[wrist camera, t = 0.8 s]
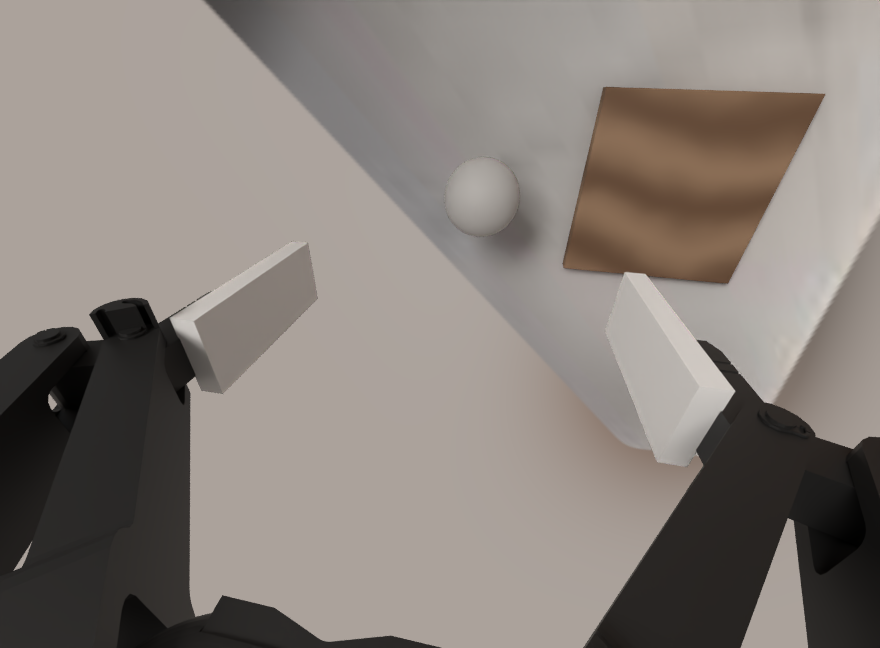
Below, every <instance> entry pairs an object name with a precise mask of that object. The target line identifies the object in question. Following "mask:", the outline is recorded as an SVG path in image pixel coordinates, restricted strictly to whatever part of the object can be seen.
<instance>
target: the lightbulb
mask: <svg viewBox="0 0 880 648" xmlns="http://www.w3.org/2000/svg"><path fill="white" fill-rule="evenodd" d="M519 202H520V190H519V185H518V181H517V179H516V177H515V175H514V173H513V172H512V171H511V169H510V168H509V167H508V166H507V165H505V164H504V163H503V162H501V161H499V160H496V159H494V158H489V157H478V158H473V159H470V160H468V161H466V162H464V163H463V164H461V165H460V166H459V167H458V168H457V169H456V170H455V171H454V172H453V173H452V175H451V176H450V178H449V180H448V182H447V185H446V188H445V193H444V203H445V208H446V212H447V214H448V217H449V219H450V220H451V222H452V223H453V224H454V225H455V226H456V227H457V228H458V229H459V230H461V231H462V232H464V233H466V234H468V235H471V236H476V237H485V236H491V235H493V234H496V233H498V232H500V231H501V230H503V229H504V228H505V227H506V226H507V225H508V224H509V223H510V222H511V221H512V219H513V218H514V216H515V214H516V212H517V210H518V206H519Z"/></svg>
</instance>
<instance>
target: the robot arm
mask: <svg viewBox="0 0 880 648" xmlns="http://www.w3.org/2000/svg"><path fill="white" fill-rule="evenodd" d="M317 299H318V297H317V291H316V286H315V280H314V275H313V269H312V263H311V257H310V251H309V246H308V243H304V242H294V241H291V242H290V243H288V244H287V245H285V246H283V247H282V248H280V249H279V250H277V251H276V252H274V253H272V254H271V255H269V256H268V257H266V258H265V259H263V260H261V261H260V262H258V263H256V264H255V265H253V266H252V267H250V268H248V269H247V270H245V271H244V272H242V273H240V274H239V275H237V276H236V277H234V278H233V279H231V280H229V281H228V282H226V283H224V284H223V285H221V286H220V287H218V288H216V289H215V290H213V291H211V292H208V293H207V294H205V295H203V296H202V297H200V298H199V299H197V301H194V302H192V303H191V304H189V305H187V307H184V308H183V309H181V310H179V311H178V312H176V313H175V314H173V315H171V316H170V317H168V318H167V319H165V320H163V321H162V322H160V323H158V322H157V320H156V318H155V316H154V314H153V312H152V310H151V307H150V305H149V303H148V301H147V300H144V299H142V298H129V299H122V300H117V301H113V302H110V303H107V304H104V305H102V306H100V307H98V308H96V309H95V310H93V311H92V312H91V313H90V314H89V315H90V317H91V319H92V320H93V322H94V324H95V325H96V327H97V329H98V331H99V332H100V334H101V336H102V337H103V339H104V340H98V341H86V340H85V338H84V337H83V335H82V333H81V332H80V330H79V329H78V328H74V327H61V328H52V329H47V330H46V331H45V330H44V331H40V332H38V333H37V334H35V335H33V336H31V337H29V338H27V339H25V340H24V341H22V342H21V343H19V344H18V345H17V346H16V347H15V348H13V349H12V350H11V351H10V352H9V353H7V354H6V355H5V356H4V357H3V358H2V359H0V648H440V647H436V646H432V645H427V644H423V643H419V642H415V641H411V640H407V639H402V638H398V637H394V636H384V637H374V638H364V639H354V640H345V641H335V642H325V641H322V640H320V639H318V638H317V637H315V636H314V635H313V634H311V633H309V632H308V631H307V630H305V629H304V628H303V627H301V626H300V625H298V624H297V623H296V622H294V621H293V620H291V619H290V618H288V617H287V616H286V615H284V614H283V613H281V612H280V611H278V610H277V609H275V608H273V607H268V606H264V605H260V604H256V603H252V602H248V601H244V600H239V599H235V598H231V597H227V596H223V595H222V597H221V599H220V600H219V602H218V604H217V605H216V607H215V609H214V611H213V612H212V613H211V614H206V615H202V616H197V617H195V614H194V611H193V608H192V604H191V600H190V591H189V562H190V559H189V558H190V555H189V554H190V553H189V552H190V548H189V547H190V546H189V545H190V542H189V541H190V391H189V389H188V387H187V385H186V384H187V383H188V382H189V381H190V380H191V379H193V378H194V377H196V379H197V382H198V384H199V386H200V388H201V390H202V391H208V392H214V393H221V394H223V393H224V392H225V391H226V390H227V389H228V388H229V387H230V386H231V385H232V384H233V383H234V382H235V381H236V380H237V379H238V378H239V377H240V376H241V375H242V374H243V373H244V372H245V371H246V370H247V369H248V368H249V367H250V366H251V365H252V364H253V363H254V362H255V361H256V360H257V359H258V358H259V357H260V356H261V355H262V354H263V353H264V352H265V351H266V350H267V349H268V348H269V347H270V346H271V345H272V344H273V343H274V342H275V341H276V340H277V339H278V338H279V337H280V336H281V335H282V334H283V333H284V332H285V331H286V330H287V329H288V328H289V327H290V326H291V325H292V324H293V323H294V322H295V321H296V320H297V319H298V318H299V317H300V316H301V315H302V314H303V313H304V312H305V311H306V310H307V309H308V308H309V307H310V306H311V305H312V304H313V303H314V302H315V301H316V300H317ZM605 333H606V335H607V338H608V340H609V343H610V345H611V348H612V350H613V353H614V355H615V358H616V360H617V363H618V366H619V368H620V371H621V373H622V376H623V378H624V381H625V383H626V386H627V388H628V391H629V393H630V396H631V398H632V401H633V403H634V406H635V408H636V411H637V413H638V416H639V418H640V421H641V423H642V426H643V428H644V431H645V433H646V436H647V438H648V441H649V443H650V446H651V448H652V451H653V453H654V456H655V458H656V461H657V462H659V463H665V464H672V465H678V466H685V467H687V466H688V465H689V463H690V462H691V460H692V459H693V457H694V455H695V454H696V452H697V453H698V455H699V457H700V459H701V461H702V463H703V465H704V466H703V467H702V469H701V470H700V472H699V473H698V475H697V476H696V478H695V479H694V481H693V482H692V484H691V485H690V487H689V488H688V490H687V491H686V493H685V494H684V496H683V497H682V499H681V500H680V502H679V503H678V505H677V506H676V508H675V510H674V511H673V513H672V514H671V516H670V517H669V519H668V520H667V522H666V523H665V525H664V526H663V528H662V529H661V531H660V532H659V534H658V535H657V537H656V539H655V540H654V541H653V543H652V544H651V546H650V547H649V549H648V551H647V552H646V553H645V555H644V557H643V558H642V560H641V561H640V563H639V564H638V566H637V567H636V569H635V570H634V572H633V573H632V575H631V576H630V578H629V579H628V581H627V582H626V584H625V586H624V587H623V589H622V590H621V591H620V593H619V594H618V596H617V597H616V599H615V600H614V602H613V604H612V605H611V607H610V608H609V610H608V611H607V613H606V614H605V616H604V617H603V619H602V620H601V622H600V623H599V625H598V626H597V628H596V629H595V631H594V632H593V634H592V635H591V637H590V638H589V640H588V641H587V643H586V645H585V646H584V647H583V648H740V647H741V645H742V642H743V639H744V637H745V634H746V631H747V628H748V626H749V623H750V620H751V617H752V615H753V612H754V609H755V606H756V604H757V601H758V598H759V595H760V592H761V590H762V587H763V584H764V582H765V579H766V576H767V573H768V571H769V568H770V565H771V562H772V560H773V557H774V554H775V551H776V548H777V546H778V543H779V540H780V538H781V535H782V532H783V529H784V527H785V524H786V521H787V518H789V519H791V520H794V527H795V536H796V544H797V552H798V562H799V570H800V578H801V588H802V596H803V605H804V614H805V622H806V631H807V640H808V648H880V437H868V438H866V439H863V440H862V441H861V442H860V443H859V444H858V445H857V446H856V447H855V448H854V449H851V448H848V447H845V446H841V445H838V444H835V443H832V442H829V441H826V440H823V439H820V438H817V437H815V433H814V431H813V430H812V429H811V427H810V426H809V425H808V424H807V423H806V422H804V421H803V420H802V419H801V418H799V417H798V416H797V415H795V414H793V413H791V412H789V411H787V410H785V409H783V408H781V407H778V406H775V405H773V404H769V403H764V402H763V401H762V400H761V398H760V397H759V396H758V395H757V394H756V392H755V391H754V390H753V389H752V388H751V386H750V385H749V384H748V383H747V382H746V380H745V379H744V378H743V377H742V376H741V374H738V371H737V370H736V368H735V367H734V366H733V365H731V362H730V361H729V360H728V359H727V358H726V356H725V355H724V354H723V353H722V352H721V351H720V350H719V349H717V348H716V347H714V346H713V345H711V344H710V343H708V342H707V341H701V340H696V339H695V338H694V337H693V335H692V334H691V333H690V331H689V330H688V329H687V327H686V326H685V325H684V324H683V322H682V321H681V320H680V318H679V317H678V316H677V314H676V313H675V312H674V311H673V309H672V308H671V307H670V305H669V304H668V303H667V301H666V300H665V299H664V297H663V296H662V295H661V294H660V292H659V291H658V290H657V288H656V287H655V286H654V284H653V283H652V282H651V281H650V279H649V278H648V277H647V275H646V274H640V273H629V272H624V275H623V278H622V281H621V284H620V287H619V290H618V293H617V296H616V299H615V302H614V305H613V308H612V311H611V314H610V317H609V320H608V323H607V326H606V329H605ZM49 394H50V395H51V396H52V398H53V399H54V400H55V401H56V403H57V406H56V407H55V408H54V409H53V410H51V408H50V406H49V403H48V395H49ZM32 540H33V541H32ZM31 542H32V543H31ZM30 543H31V547H30V549H29V552H28V555H27V558H26V560H25V562H24V564H23V566H22V568H20V569H17V570H15V571H13V570H14V569H15V567H16V566H17V564H18V562H19V561H20V559H21V558H22V556H23V554H24V553H25V551H26V550H27V548H28V547H29V545H30Z"/></svg>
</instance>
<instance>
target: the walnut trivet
mask: <svg viewBox="0 0 880 648" xmlns="http://www.w3.org/2000/svg"><path fill="white" fill-rule="evenodd" d="M824 96H825V94H811V93H779V92H748V91H716V90H684V89H652V88H621V87H604V88H603V91H602V96H601V100H600V104H599V109H598V113H597V117H596V122H595V126H594V130H593V135H592V139H591V143H590V147H589V152H588V156H587V160H586V165H585V169H584V173H583V178H582V182H581V186H580V191H579V195H578V199H577V204H576V208H575V212H574V217H573V221H572V225H571V229H570V234H569V238H568V242H567V247H566V251H565V255H564V260H563V267H564V268H570V269H580V270H591V271H601V272H612V273H622V274H624V272H629V273H640V274H646V275H647V276H654V277H664V278H675V279H685V280H696V281H706V282H717V283H727V284H728V282H729V280H730V278H731V276H732V274H733V273H734V271H735V269H736V267H737V265H738V263H739V261H740V259H741V257H742V255H743V253H744V251H745V249H746V247H747V245H748V243H749V241H750V240H751V238H752V236H753V234H754V232H755V230H756V228H757V226H758V224H759V222H760V220H761V218H762V216H763V214H764V212H765V210H766V208H767V207H768V205H769V203H770V201H771V199H772V197H773V195H774V193H775V191H776V189H777V187H778V185H779V183H780V181H781V179H782V177H783V175H784V174H785V172H786V170H787V168H788V166H789V164H790V162H791V160H792V158H793V156H794V154H795V152H796V150H797V148H798V146H799V144H800V142H801V141H802V139H803V137H804V135H805V133H806V131H807V129H808V127H809V125H810V123H811V121H812V119H813V117H814V115H815V113H816V111H817V109H818V108H819V106H820V104H821V102H822V100H823V98H824Z"/></svg>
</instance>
